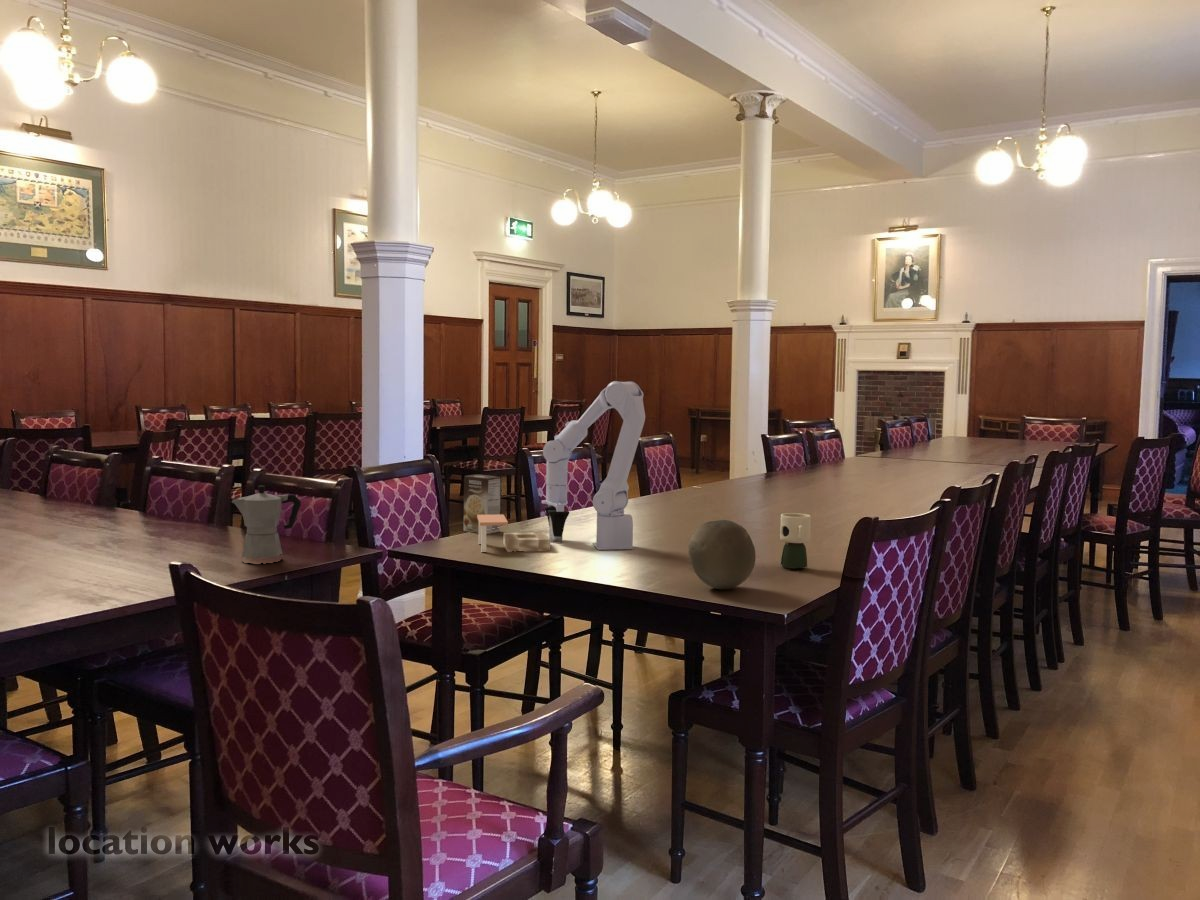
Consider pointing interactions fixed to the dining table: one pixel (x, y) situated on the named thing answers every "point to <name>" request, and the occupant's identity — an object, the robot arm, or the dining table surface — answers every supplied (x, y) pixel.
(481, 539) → the peach and white stand
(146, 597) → the dining table surface
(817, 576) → the dining table surface
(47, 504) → the dining table surface
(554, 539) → the peg
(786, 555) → the character mug
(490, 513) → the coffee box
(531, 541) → the socket block
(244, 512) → the coffeepot
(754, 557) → the cantaloupe
